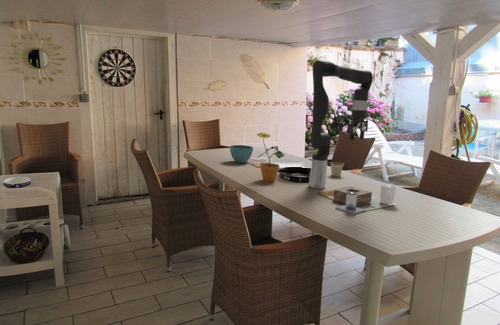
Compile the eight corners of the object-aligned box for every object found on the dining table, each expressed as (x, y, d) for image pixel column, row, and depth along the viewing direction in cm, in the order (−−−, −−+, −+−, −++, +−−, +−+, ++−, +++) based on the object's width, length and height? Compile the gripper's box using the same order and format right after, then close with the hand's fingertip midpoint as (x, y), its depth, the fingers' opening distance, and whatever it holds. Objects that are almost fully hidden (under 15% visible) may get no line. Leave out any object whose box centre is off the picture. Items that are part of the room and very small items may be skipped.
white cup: (384, 205, 200) (386, 187, 198) (375, 201, 207) (377, 183, 206) (397, 205, 202) (399, 187, 200) (388, 200, 210) (390, 183, 208)
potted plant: (252, 182, 237) (254, 134, 232) (258, 176, 255) (260, 131, 250) (280, 185, 233) (283, 136, 228) (284, 178, 251) (287, 133, 246)
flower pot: (341, 174, 272) (342, 162, 270) (344, 177, 263) (345, 165, 261) (327, 173, 271) (328, 162, 270) (331, 176, 262) (332, 164, 261)
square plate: (267, 164, 298) (267, 159, 297) (301, 165, 300) (301, 160, 299) (271, 172, 271) (271, 166, 270) (309, 173, 273) (309, 167, 272)
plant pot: (256, 162, 303) (257, 146, 301) (244, 165, 288) (244, 149, 286) (237, 159, 313) (238, 144, 310) (224, 162, 297) (225, 146, 295)
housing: (333, 200, 206) (334, 189, 205) (349, 196, 215) (350, 186, 214) (354, 207, 196) (355, 195, 195) (370, 202, 204) (371, 192, 203)
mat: (335, 208, 192) (335, 207, 192) (347, 205, 198) (348, 204, 198) (353, 214, 183) (353, 213, 183) (365, 211, 189) (366, 209, 189)
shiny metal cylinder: (343, 207, 191) (344, 192, 189) (350, 206, 194) (351, 191, 192) (351, 210, 187) (352, 194, 186) (358, 208, 190) (359, 193, 188)
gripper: (361, 108, 207) (358, 138, 210) (345, 108, 199) (342, 139, 202) (373, 109, 202) (370, 140, 205) (357, 109, 193) (354, 141, 196)
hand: (356, 139), depth 203 cm, fingers open, 8 cm apart
